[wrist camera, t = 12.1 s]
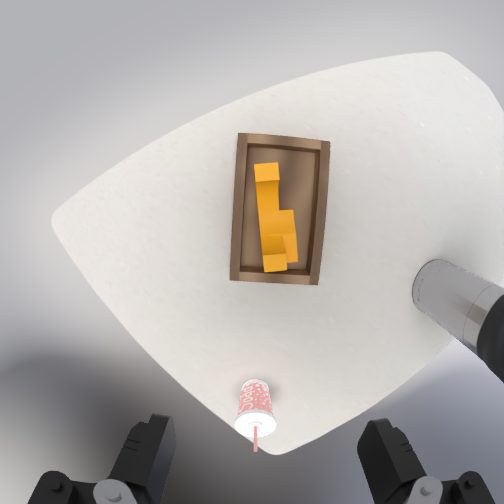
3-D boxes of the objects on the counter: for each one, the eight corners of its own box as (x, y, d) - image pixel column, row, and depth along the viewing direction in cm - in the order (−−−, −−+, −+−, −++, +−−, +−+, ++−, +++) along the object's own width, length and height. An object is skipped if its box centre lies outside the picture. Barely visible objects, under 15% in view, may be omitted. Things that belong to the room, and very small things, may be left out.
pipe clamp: (294, 255, 37) (302, 268, 31) (262, 259, 37) (264, 272, 31) (286, 167, 35) (293, 161, 28) (253, 169, 35) (253, 164, 28)
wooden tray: (323, 146, 34) (330, 141, 31) (312, 276, 38) (317, 285, 35) (239, 138, 34) (238, 133, 31) (231, 272, 38) (229, 280, 35)
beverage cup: (268, 372, 42) (272, 434, 28) (276, 397, 43) (283, 457, 29) (232, 379, 42) (226, 441, 28) (243, 404, 43) (240, 464, 30)
